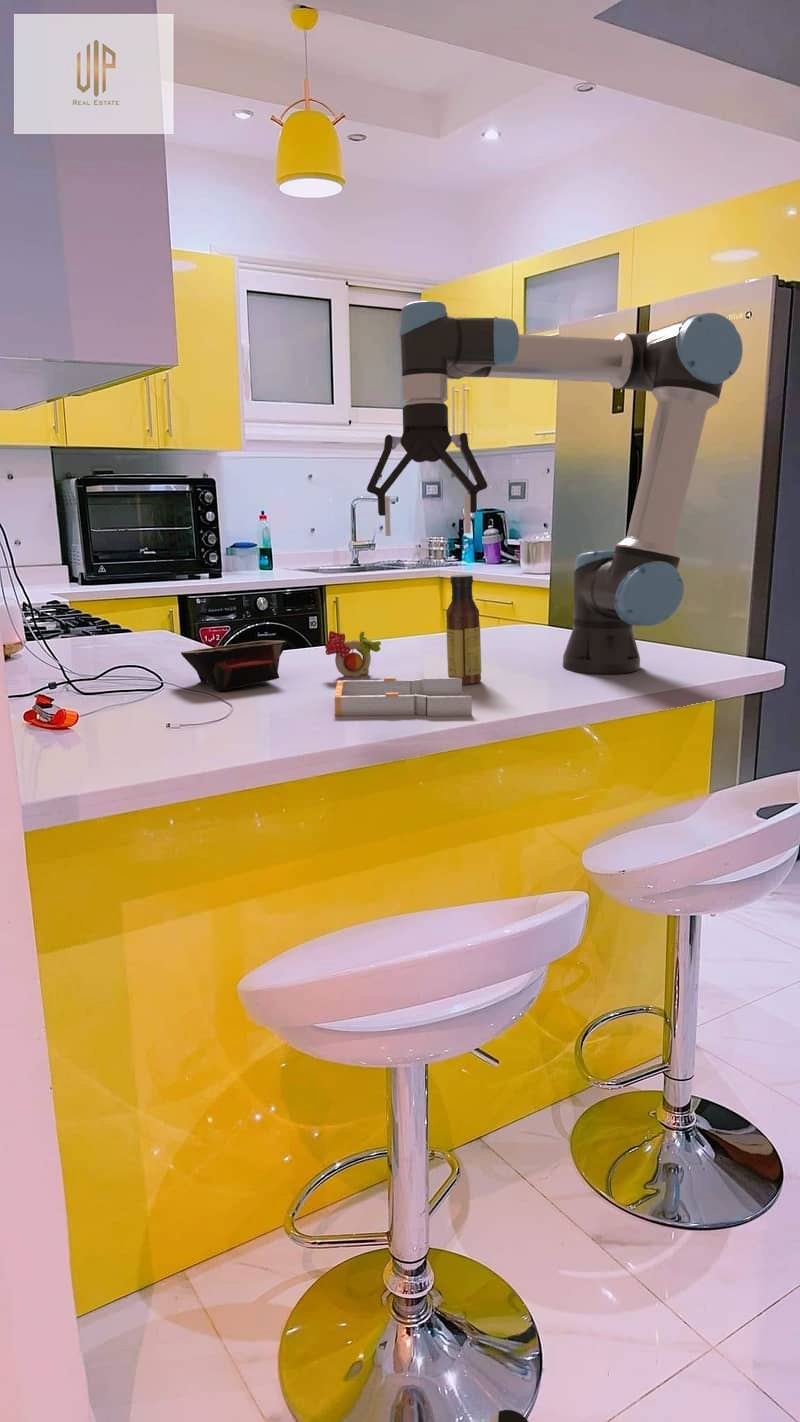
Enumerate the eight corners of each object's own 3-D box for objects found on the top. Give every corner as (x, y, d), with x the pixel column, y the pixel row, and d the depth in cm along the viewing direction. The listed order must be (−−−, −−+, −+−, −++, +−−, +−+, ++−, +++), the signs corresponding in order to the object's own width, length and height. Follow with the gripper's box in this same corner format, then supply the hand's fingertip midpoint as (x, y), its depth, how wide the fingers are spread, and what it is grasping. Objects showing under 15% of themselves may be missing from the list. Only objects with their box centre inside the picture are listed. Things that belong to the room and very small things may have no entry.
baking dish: (186, 695, 173) (173, 644, 170) (272, 669, 181) (261, 620, 178) (212, 710, 161) (199, 655, 158) (302, 681, 169) (292, 629, 166)
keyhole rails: (461, 694, 161) (461, 675, 160) (471, 715, 144) (471, 694, 144) (338, 696, 160) (337, 676, 159) (334, 717, 144) (334, 696, 143)
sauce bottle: (481, 679, 174) (482, 573, 169) (481, 686, 168) (482, 576, 163) (446, 679, 174) (447, 573, 170) (445, 685, 168) (445, 576, 164)
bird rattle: (385, 677, 177) (385, 630, 175) (337, 683, 171) (335, 635, 169) (367, 672, 182) (366, 627, 180) (319, 679, 176) (318, 631, 174)
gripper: (496, 404, 156) (497, 531, 161) (349, 408, 155) (354, 535, 160) (503, 399, 149) (504, 532, 154) (349, 403, 148) (354, 537, 153)
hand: (427, 534), depth 157 cm, fingers open, 13 cm apart
